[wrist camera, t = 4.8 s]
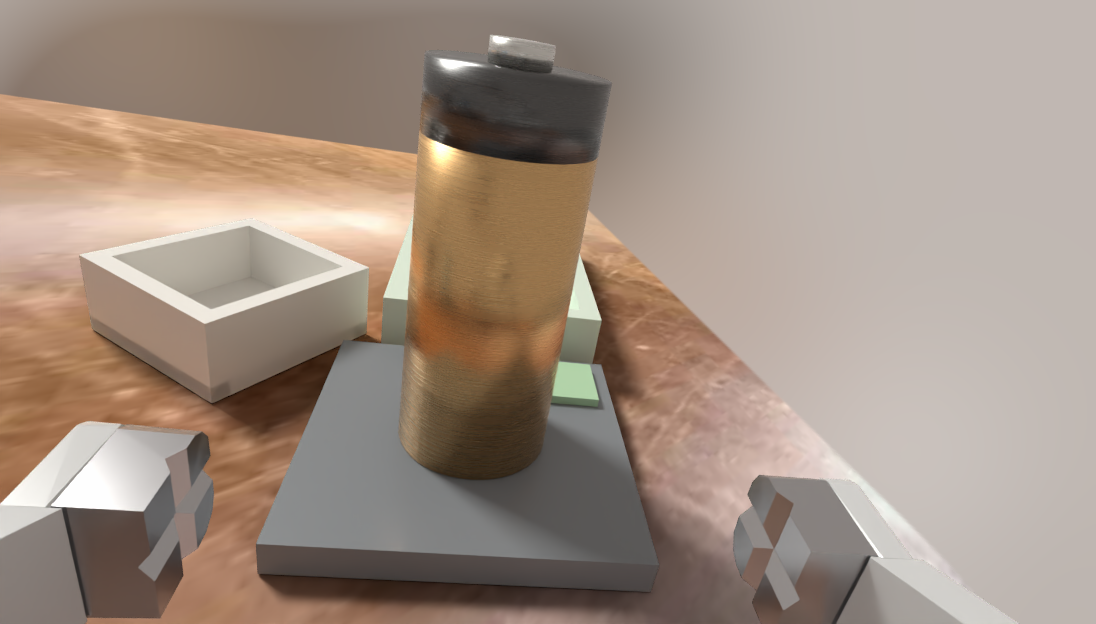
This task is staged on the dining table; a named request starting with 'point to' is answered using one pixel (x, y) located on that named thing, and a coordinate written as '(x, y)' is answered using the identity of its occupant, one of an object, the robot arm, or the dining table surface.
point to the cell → (494, 251)
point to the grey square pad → (457, 494)
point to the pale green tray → (578, 326)
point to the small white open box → (225, 303)
